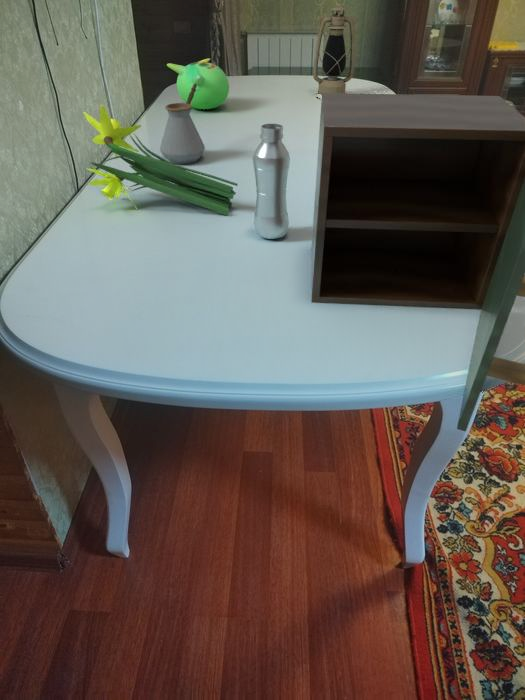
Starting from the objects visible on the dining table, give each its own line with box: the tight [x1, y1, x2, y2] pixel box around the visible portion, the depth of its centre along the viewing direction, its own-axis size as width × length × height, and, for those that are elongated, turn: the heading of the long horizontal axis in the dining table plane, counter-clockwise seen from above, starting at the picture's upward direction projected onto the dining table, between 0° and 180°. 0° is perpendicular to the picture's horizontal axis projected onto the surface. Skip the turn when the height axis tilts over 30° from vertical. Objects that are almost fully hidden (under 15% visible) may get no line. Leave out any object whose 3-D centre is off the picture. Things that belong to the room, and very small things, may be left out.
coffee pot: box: [159, 83, 206, 165], centre depth 131 cm, size 21×12×15 cm, turn 169°
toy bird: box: [166, 58, 230, 111], centre depth 167 cm, size 18×17×15 cm
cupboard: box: [310, 92, 525, 311], centre depth 78 cm, size 18×26×26 cm
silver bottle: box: [252, 123, 291, 240], centre depth 92 cm, size 6×7×20 cm
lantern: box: [312, 0, 359, 95], centre depth 176 cm, size 14×12×30 cm
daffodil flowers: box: [82, 103, 239, 216], centre depth 105 cm, size 17×15×35 cm
